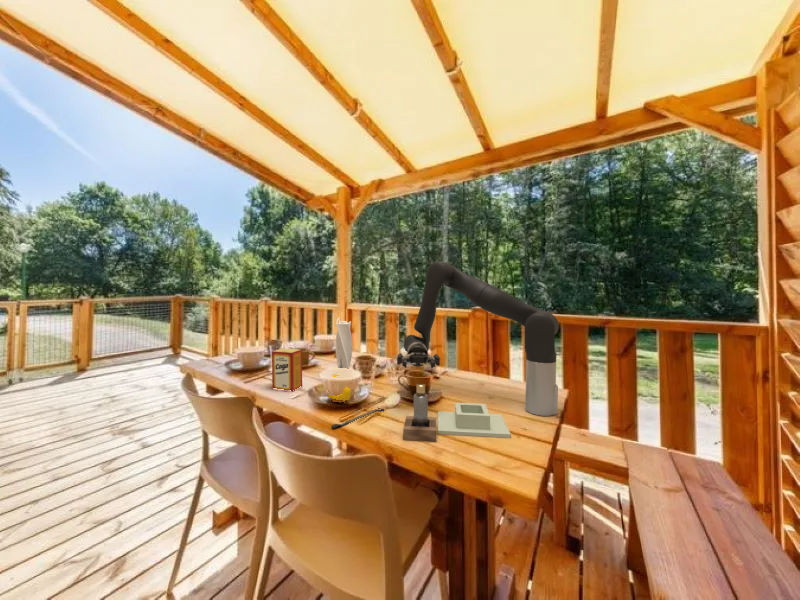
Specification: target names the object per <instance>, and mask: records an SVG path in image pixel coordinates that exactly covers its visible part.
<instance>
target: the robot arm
mask: <svg viewBox="0 0 800 600" xmlns="http://www.w3.org/2000/svg"><path fill="white" fill-rule="evenodd" d="M442 286H445V287H448V288H450V289H453V290H456V291H457V292H459V293H460V294H462V295H463V296H464V297H466V298H467V300H469V301H470V302H471V303H472V304H474V305H475V306H477V307H479V308H480V309H483V310H484V311H486V312H488V313H490V314H492V315H496V316H499V317H502V318H505V319H509V320H512V321H514V322H516V323H518V324H520V325H521V326H523V327H524V352H525V355H526V357H525V395H524V396H525V403H524V404H525V405H524V406H525V408H524V409H525V411H527V412H528V413H530V414H532V415H537V416H541V417H542V416H544V417H550V416H554V415H555V416H557V415H558V409H559V408H558V405H559V403H558V401H559V399H558V398H559V386H558V384H557V353H556V349H555V348H556V346H555V344H556V341H555V340H556V337H555V336H556V334H557V333H558V331H559V330H560V323H559V320H558V319H557V317H556V315H554V314H553V313H551V312H549V311H545V310H543V309H541V308H538V307H536V306H535V307H534V306H532V305H530V304H527V303H525V302H523V301H522V300H520V299H518V298H516V297H514V296H513V295H511V294H509V293H508V292H506V291H504V290H502V289H500V288H499V287H496V286H495V285H492V284H490V283H487V282H486V281H483V280H481V279H478V278H475V277H473V276H470V275H469V274H466V273H464V272H463V271H461V270H460V269H458V268H457V267H455V266H454V265H453V264H451V263H449V262H444V261H440V260H439V261H433V262H431V264H430V265H429V266H428V269H427V271H426V278H425V282H424V287H423V293H422V300H421V304H420V307H419V311H418V314H417V316H416V319H415V322H414V326H413V328H414V330H415V331H416V332H417V333H419V334H420V335H422V336H423V337H421V336H417V335H414V334H408V335H407V336H406V337H405V338H404V341H403V350H405V352H406V355H404V354H402V353H398V354H397V357H396V364H397V365H398V366H399V365H401V364H402V365H401V366H402V367H403V368H408V367H407V366H413V367H416V368H419V367H423V366H426V367H428V366H430V369H434V368H435V367H436V366H437V367H438V366H439V367H440V366H441V357H440V356H439V354H437V353H435V354H433V356H431V355H430V354H429V349H430V336H431V331H432V327H433V325H434V322H435V319H436V314H437V300H438V296H439V292H440V290H441V288H442Z"/></svg>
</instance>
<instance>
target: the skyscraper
mask: <svg viewBox="0 0 800 600" xmlns="http://www.w3.org/2000/svg"><path fill="white" fill-rule="evenodd" d="M335 325H336V328H337V329H336V330H337V331H336V336H335V357H336V358H335V359H336V364H337V368H347V369H350V367H351V362H352V357H353V348H354V347H353V338H352V337H353V336H352V331H351V326H352V321H350V320H349V322H348V321H347V320H341V317H338V318H337V319H336V322H335Z"/></svg>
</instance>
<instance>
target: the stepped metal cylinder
mask: <svg viewBox="0 0 800 600" xmlns="http://www.w3.org/2000/svg"><path fill="white" fill-rule="evenodd" d="M428 410H429V395H428V394H427V393H426V384H425V383H416V392H415V393H414V394H413V416H414V426H416V427H428V417H429V416H428V415H429V411H428Z"/></svg>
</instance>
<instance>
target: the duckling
mask: <svg viewBox="0 0 800 600" xmlns="http://www.w3.org/2000/svg"><path fill="white" fill-rule="evenodd" d="M332 376H333V377H336V376H339V375H337V373H336V374H332ZM343 388H344V387H343ZM342 390H343V389H342ZM326 394H327V397H330V398H332V399H336V400H343V401H345V400H348V401H350V400H351V395H352V389H351V388H348V387H346V388H344V390H343V392H342V394H340V395H337V396H335V395H329V393H326Z"/></svg>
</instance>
